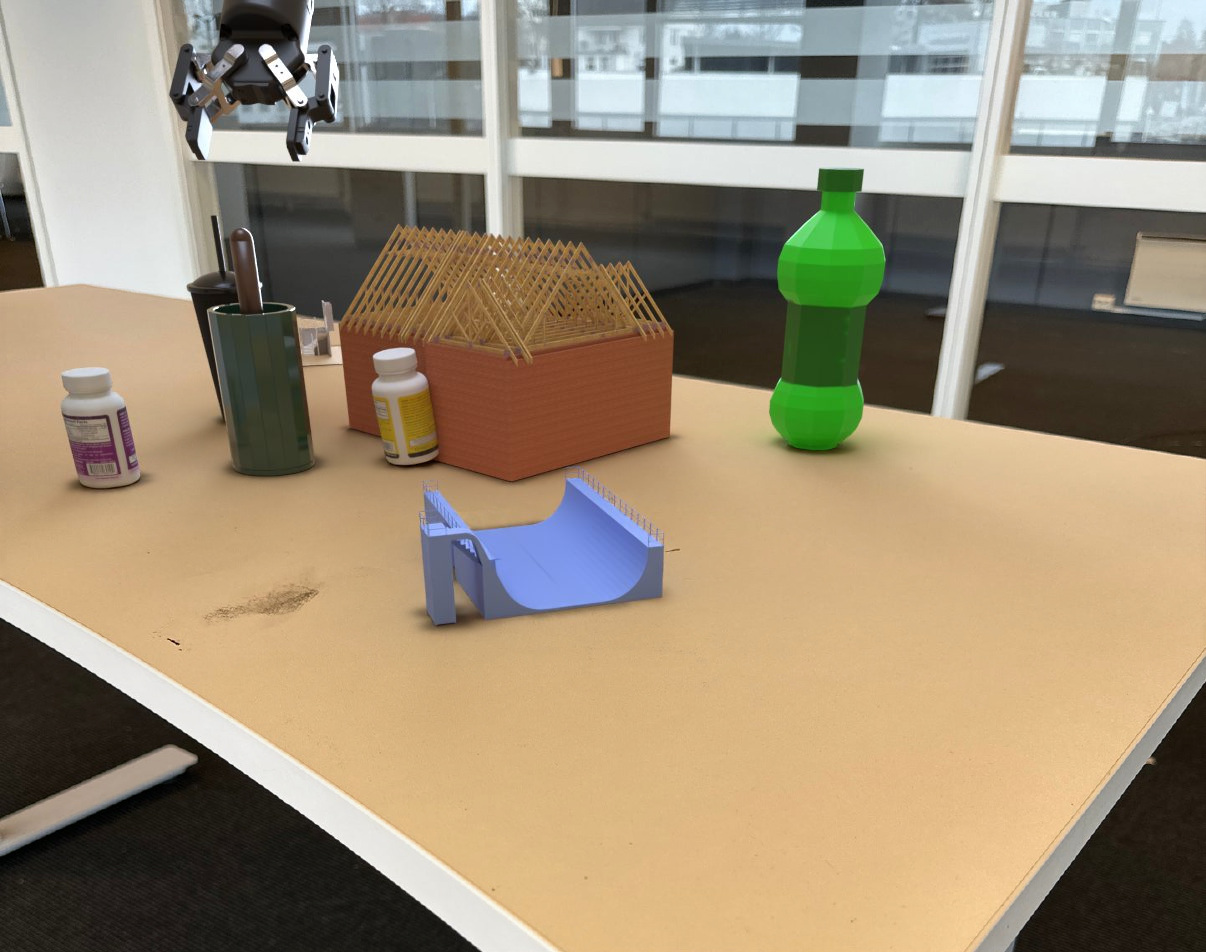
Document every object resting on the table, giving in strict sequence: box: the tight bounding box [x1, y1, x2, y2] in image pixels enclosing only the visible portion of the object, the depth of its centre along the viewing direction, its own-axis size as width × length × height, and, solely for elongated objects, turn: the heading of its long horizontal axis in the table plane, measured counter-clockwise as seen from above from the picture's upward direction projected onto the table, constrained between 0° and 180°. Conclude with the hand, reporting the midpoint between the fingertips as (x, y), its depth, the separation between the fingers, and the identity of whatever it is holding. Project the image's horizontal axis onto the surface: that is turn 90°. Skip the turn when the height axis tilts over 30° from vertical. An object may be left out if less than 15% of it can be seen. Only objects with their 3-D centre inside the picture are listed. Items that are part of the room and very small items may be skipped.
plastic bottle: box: [768, 167, 886, 451], centre depth 110 cm, size 10×10×25 cm
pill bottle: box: [60, 366, 141, 489], centre depth 100 cm, size 5×5×10 cm
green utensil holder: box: [207, 301, 315, 477], centre depth 104 cm, size 8×8×14 cm
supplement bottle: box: [372, 348, 439, 466], centre depth 107 cm, size 5×5×10 cm
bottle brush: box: [229, 227, 264, 314], centre depth 103 cm, size 4×4×20 cm
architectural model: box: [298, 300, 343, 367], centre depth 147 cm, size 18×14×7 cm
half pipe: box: [418, 466, 665, 627], centre depth 83 cm, size 18×16×7 cm
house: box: [338, 223, 675, 482], centre depth 114 cm, size 28×23×19 cm
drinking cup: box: [186, 214, 264, 422], centre depth 119 cm, size 8×8×20 cm
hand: (245, 153), depth 98 cm, fingers open, 8 cm apart
